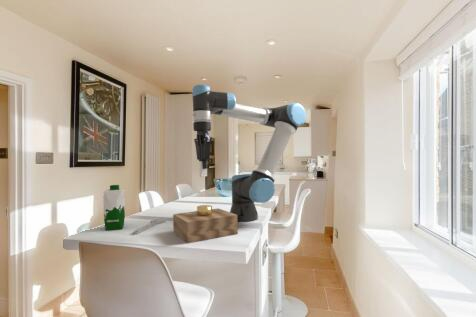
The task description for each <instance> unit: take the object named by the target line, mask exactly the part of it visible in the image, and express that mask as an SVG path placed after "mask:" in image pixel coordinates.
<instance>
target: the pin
mask: <svg viewBox="0 0 476 317" xmlns="http://www.w3.org/2000/svg"><path fill="white" fill-rule="evenodd" d="M212 209H213V205H210V204H201V205H197V206H196V211H197V215H198V216H210V215H212Z"/></svg>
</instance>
